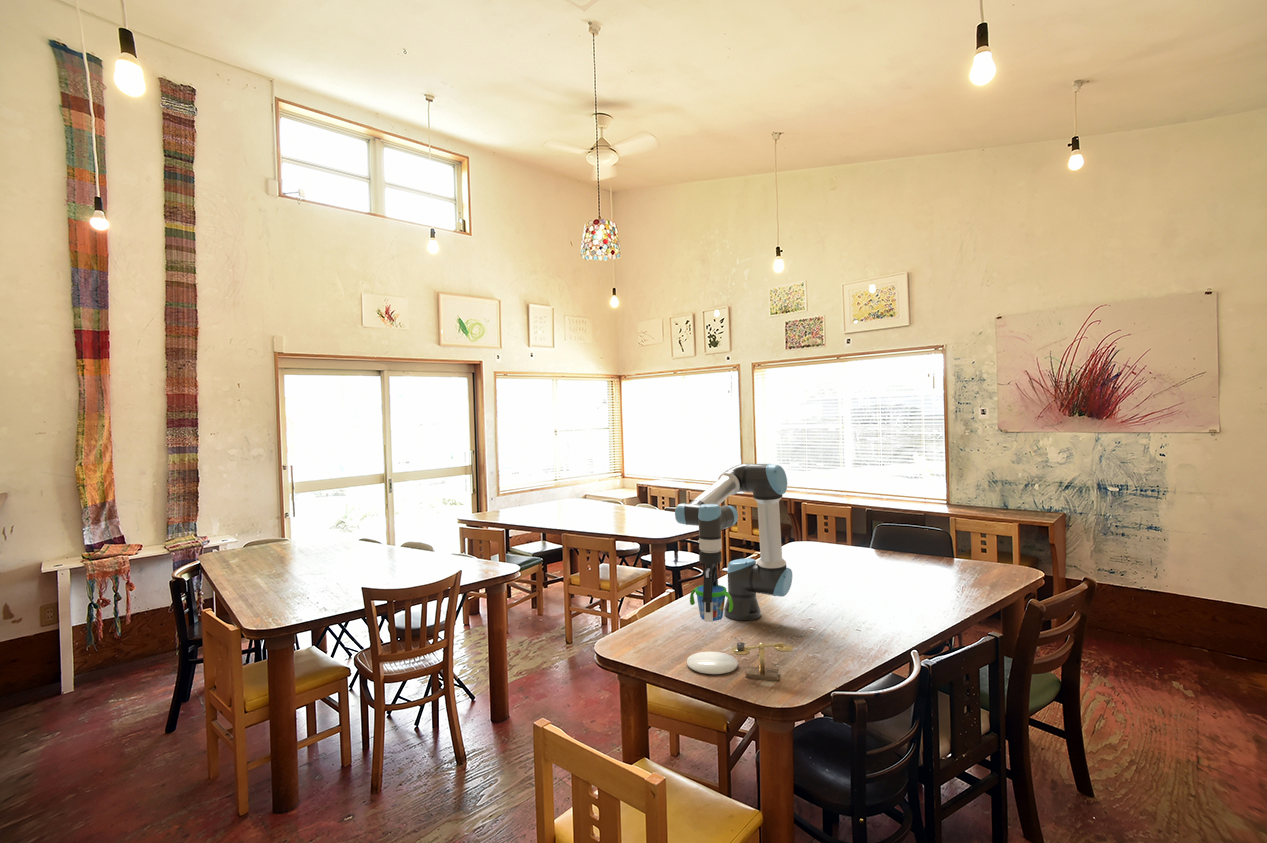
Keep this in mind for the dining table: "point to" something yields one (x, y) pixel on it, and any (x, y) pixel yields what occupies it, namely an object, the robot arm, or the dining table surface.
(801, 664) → the dining table surface
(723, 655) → the dish
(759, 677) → the balance
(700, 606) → the snack cup
